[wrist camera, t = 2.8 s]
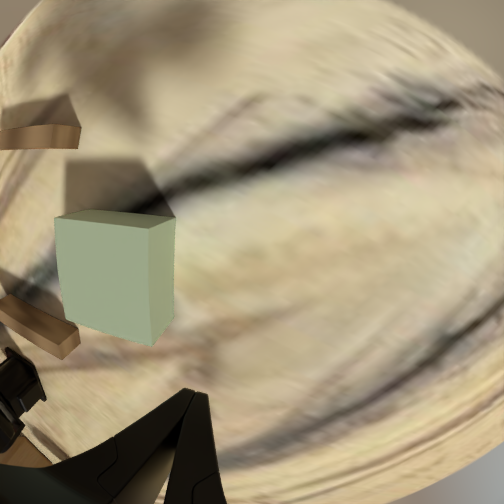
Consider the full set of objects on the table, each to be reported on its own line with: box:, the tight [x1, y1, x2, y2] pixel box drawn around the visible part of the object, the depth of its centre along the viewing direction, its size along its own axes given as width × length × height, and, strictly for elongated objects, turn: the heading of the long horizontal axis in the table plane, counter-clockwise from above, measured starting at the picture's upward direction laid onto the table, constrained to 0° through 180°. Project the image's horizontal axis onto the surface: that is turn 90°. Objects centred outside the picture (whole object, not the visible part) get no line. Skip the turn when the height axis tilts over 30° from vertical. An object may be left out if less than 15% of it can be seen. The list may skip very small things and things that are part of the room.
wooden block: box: [0, 436, 53, 468], centre depth 26 cm, size 10×10×20 cm
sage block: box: [54, 209, 176, 347], centre depth 16 cm, size 7×7×4 cm
